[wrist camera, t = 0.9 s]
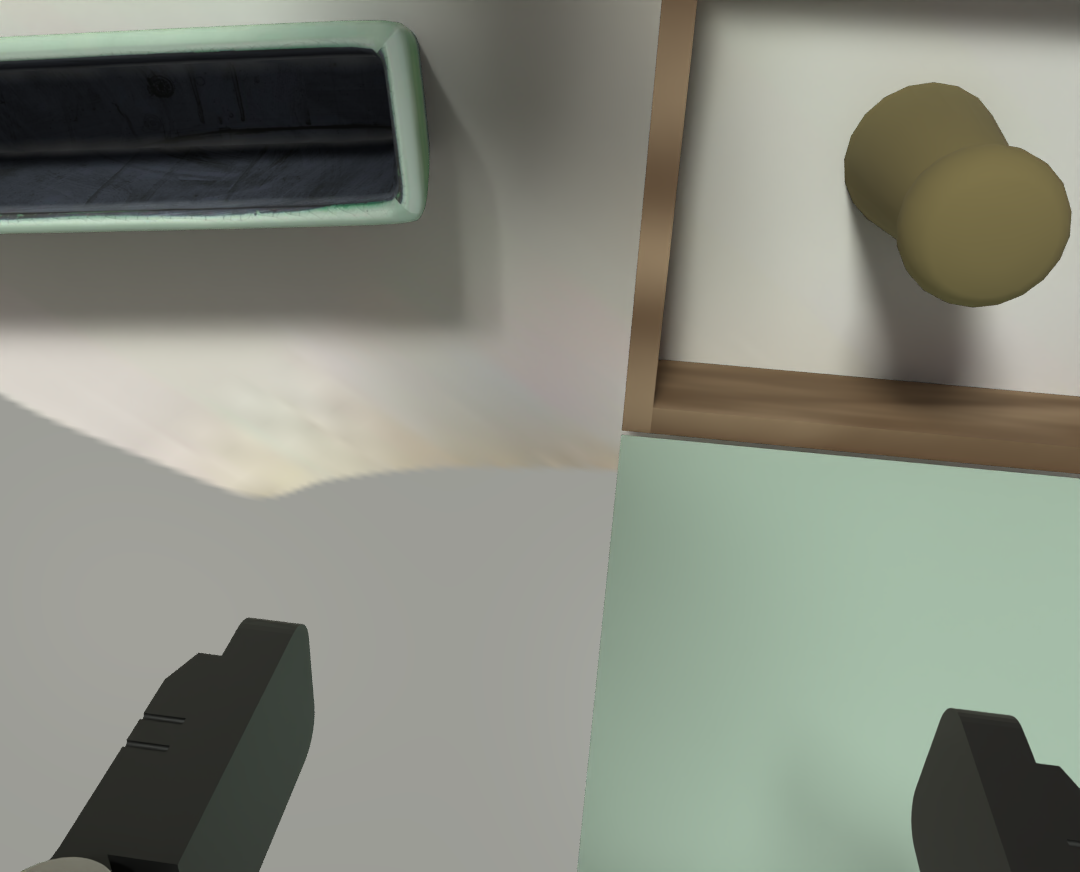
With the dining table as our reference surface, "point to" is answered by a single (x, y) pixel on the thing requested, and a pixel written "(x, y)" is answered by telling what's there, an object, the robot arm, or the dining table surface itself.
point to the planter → (213, 128)
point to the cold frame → (799, 397)
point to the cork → (957, 195)
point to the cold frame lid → (815, 650)
